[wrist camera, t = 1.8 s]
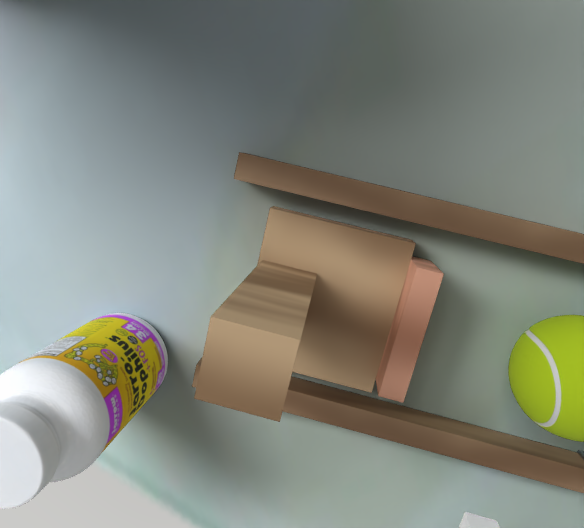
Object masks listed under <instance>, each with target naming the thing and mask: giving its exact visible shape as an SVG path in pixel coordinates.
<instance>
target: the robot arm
mask: <svg viewBox="0 0 584 528" xmlns="http://www.w3.org/2000/svg"><path fill="white" fill-rule="evenodd" d="M459 528H500V527H499V525H498V523H497V520H493V519H490V518H486V517H482V516H479V515H475V514H472V513H468V512H464V515H463V518H462V520H461V523H460V526H459Z"/></svg>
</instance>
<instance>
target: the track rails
mask: <svg viewBox="0 0 584 528" xmlns="http://www.w3.org/2000/svg"><path fill="white" fill-rule="evenodd" d="M234 179H237V180H241V181H245V182H249V183H253V184H257V185H261V186H265V187H269V188H274V189H278V190H282V191H286V192H290V193H294V194H298V195H302V196H307V197H311V198H315V199H319V200H323V201H327V202H331V203H335V204H340V205H344V206H348V207H352V208H356V209H360V210H364V211H368V212H373V213H377V214H381V215H385V216H389V217H393V218H397V219H401V220H405V221H410V222H414V223H418V224H422V225H426V226H430V227H434V228H438V229H443V230H447V231H451V232H455V233H459V234H463V235H467V236H471V237H476V238H480V239H484V240H488V241H492V242H496V243H500V244H504V245H509V246H513V247H517V248H521V249H525V250H529V251H533V252H537V253H541V254H546V255H550V256H554V257H558V258H562V259H566V260H570V261H574V262H579V263H583V264H584V234H581V233H577V232H573V231H569V230H564V229H560V228H556V227H552V226H548V225H544V224H539V223H535V222H531V221H527V220H523V219H518V218H514V217H510V216H506V215H502V214H497V213H493V212H489V211H485V210H481V209H477V208H472V207H468V206H464V205H460V204H456V203H451V202H447V201H443V200H439V199H435V198H430V197H426V196H422V195H418V194H414V193H410V192H405V191H401V190H397V189H393V188H389V187H384V186H380V185H376V184H372V183H368V182H364V181H359V180H355V179H351V178H347V177H343V176H338V175H334V174H330V173H326V172H322V171H317V170H313V169H309V168H305V167H301V166H297V165H292V164H288V163H284V162H280V161H276V160H271V159H267V158H263V157H259V156H255V155H250V154H246V153H241V152H239V155H238V160H237V165H236V170H235V175H234ZM201 362H202V358H201V359H200V361H199V362H198V363H197V365H196V369H195V374H194V379H193V384H192V387H195V388H196V387H197V382H198V377H199V372H200V367H201ZM283 412H287V413H291V414H294V415H298V416H302V417H306V418H309V419H313V420H317V421H320V422H324V423H328V424H331V425H335V426H339V427H342V428H346V429H350V430H353V431H357V432H361V433H364V434H368V435H372V436H375V437H379V438H383V439H386V440H390V441H394V442H397V443H401V444H405V445H409V446H412V447H416V448H420V449H423V450H427V451H431V452H434V453H438V454H442V455H445V456H449V457H453V458H456V459H460V460H464V461H467V462H471V463H475V464H478V465H482V466H486V467H489V468H493V469H497V470H500V471H504V472H508V473H511V474H515V475H519V476H523V477H526V478H530V479H534V480H537V481H541V482H545V483H548V484H552V485H556V486H559V487H563V488H567V489H570V490H574V491H578V492H581V493H584V460H583V459H582V458H581V456H580V455H579V454H578V453H577V452H573V451H569V450H566V449H562V448H558V447H554V446H551V445H547V444H543V443H539V442H536V441H532V440H528V439H524V438H521V437H517V436H513V435H509V434H506V433H502V432H498V431H494V430H491V429H487V428H483V427H479V426H476V425H472V424H468V423H464V422H461V421H457V420H453V419H449V418H446V417H442V416H438V415H434V414H431V413H427V412H423V411H420V410H416V409H412V408H408V407H405V406H401V405H397V404H393V403H390V402H386V401H382V400H378V399H375V398H371V397H367V396H363V395H360V394H356V393H352V392H348V391H345V390H341V389H337V388H333V387H330V386H326V385H322V384H318V383H315V382H311V381H307V380H303V379H300V378H296V377H292V376H291V379H290V383H289V387H288V391H287V395H286V399H285V403H284V407H283Z"/></svg>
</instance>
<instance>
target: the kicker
mask: <svg viewBox="0 0 584 528" xmlns="http://www.w3.org/2000/svg"><path fill="white" fill-rule="evenodd" d="M415 245H416V243H415V242H414V241H413V240H410V239H406V238H402V237H398V236H394V235H390V234H386V233H381V232H377V231H373V230H369V229H365V228H361V227H357V226H353V225H349V224H345V223H341V222H337V221H332V220H328V219H324V218H320V217H316V216H312V215H308V214H304V213H300V212H296V211H292V210H288V209H284V208H279V207H275V206H273V207H271V208H270V210H269V215H268V219H267V224H266V229H265V233H264V238H263V242H262V247H261V251H260V256H259V260H258V265H257V267H256V268H255V269H254V270H253V271H252V272H251V273H250V274H249V275H248V276H247V277H246V279H245V280H244V281H243V282H242V283H241V284H240V285H239V286H238V287H237V288H236V290H235V291H234V292H233V293H232V294H231V295H230V296H229V297H228V298H227V299H226V300H225V302H224V303H223V304H222V305H221V306H220V307H219V308H218V309H217V310H216V311H215V312H214V314H213V315H212V316H211V318H210V323H209V328H208V333H207V338H206V343H205V347H204V352H203V357H202V362H201V367H200V372H199V377H198V382H197V387H196V392H195V397H194V399H198V400H202V401H205V402H209V403H213V404H216V405H220V406H224V407H227V408H231V409H235V410H238V411H242V412H246V413H249V414H253V415H256V416H260V417H264V418H267V419H271V420H275V421H278V422H280V419H281V415H282V411H283V407H284V403H285V399H286V395H287V391H288V387H289V383H290V379H291V375H292V372H295V373H299V374H303V375H307V376H310V377H314V378H318V379H322V380H325V381H329V382H333V383H337V384H340V385H344V386H348V387H352V388H355V389H359V390H363V391H367V392H370V393H372V390H373V386H374V383H375V379H376V384H377V391H378V396H380V397H384V398H388V399H391V400H395V401H399V402H404V399H405V396H406V393H407V389H408V386H409V383H410V380H411V377H412V374H413V370H414V367H415V364H416V361H417V358H418V355H419V351H420V348H421V345H422V342H423V339H424V335H425V332H426V329H427V326H428V323H429V320H430V316H431V313H432V310H433V307H434V304H435V301H436V297H437V294H438V291H439V288H440V285H441V281H442V278H443V275H444V274H443V273H442V272H441V271H440V270H439V269H438V268H437V267H436V266H435V265H434V264H433V263H432V261H429V260H425V259H421V258H417V257H413V256H412V255H413V251H414V248H415Z"/></svg>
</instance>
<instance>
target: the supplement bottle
mask: <svg viewBox="0 0 584 528" xmlns="http://www.w3.org/2000/svg"><path fill="white" fill-rule="evenodd" d="M167 367H168V355H167V350H166V347H165V344H164V342H163V340H162V338H161V337H160V335H159V334H158V332H157V331H156V330H155V329H154V328H153V327H152V326H151V325H150V324H149V323H147V322H146V321H144V320H143V319H141V318H139V317H137V316H134V315H130V314H126V313H111V314H107V315H104V316H101V317H99V318H96V319H94V320H92V321H90V322H89V323H87V324H85V325H83V326H82V327H80V328H78V329H76V330H75V331H73V332H71V333H70V334H68V335H66V336H64V337H63V338H61V339H59V340H57V341H56V342H54V343H52V344H51V345H49V346H47V347H45V348H44V349H42V350H40V351H39V352H37V353H35V354H33V355H32V356H30V357H28V358H26V359H25V360H23V361H21V362H19V363H18V364H16V365H14V366H13V367H11V368H10V369H8V370H6V371H5V372H4V373H2V374H1V375H0V508H1V509H7V508H15V507H18V506H21V505H23V504H26V503H27V502H29V501H30V500H31V499H33V498H34V497H35V496H36V495H37V494H38V493H39V492H40V491H41V490H42V489H43V488H44V487H45V486H46V485H47V484H48V483H49V482H57V481H61V480H65V479H68V478H71V477H73V476H75V475H77V474H79V473H81V472H82V471H84V470H85V469H87V468H88V467H89V466H90V465H91V464H92V463H93V462H94V461H95V460H96V459H97V458H98V457H99V456H100V454H101V453H102V452H103V451H104V450H105V449H106V447H107V446H108V445H109V444H110V443H111V442H112V441H113V439H114V438H115V437H116V436H117V435H118V434H119V432H120V431H121V430H122V429H123V428H124V427H125V426H126V424H127V423H128V422H129V421H130V420H131V419H132V418H133V417H134V415H135V414H136V413H137V412H138V411H139V410H140V409H141V407H142V406H143V405H144V404H145V403H146V402H147V401H148V399H149V398H150V397H151V396H152V395H153V394H154V393H155V391H156V390H157V389H158V388H159V386H160V385H161V384H162V382H163V380H164V378H165V375H166V372H167Z"/></svg>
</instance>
